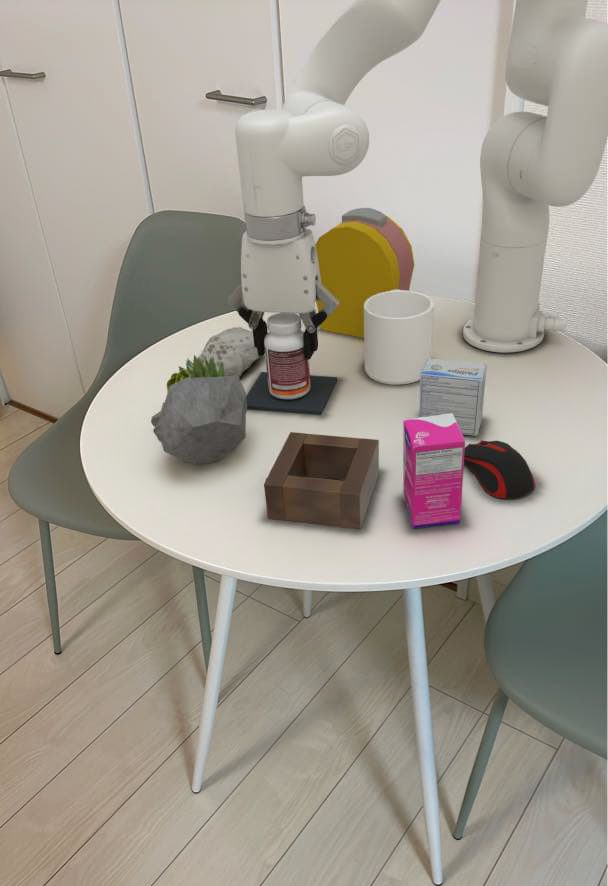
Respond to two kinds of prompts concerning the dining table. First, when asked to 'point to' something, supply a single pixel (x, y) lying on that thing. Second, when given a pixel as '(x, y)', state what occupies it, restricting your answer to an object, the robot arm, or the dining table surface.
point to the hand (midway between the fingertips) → (286, 352)
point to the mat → (306, 404)
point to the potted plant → (202, 413)
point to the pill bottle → (286, 357)
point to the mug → (397, 336)
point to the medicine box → (454, 392)
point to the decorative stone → (231, 350)
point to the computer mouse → (499, 469)
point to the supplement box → (433, 470)
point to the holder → (323, 480)
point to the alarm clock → (361, 265)
